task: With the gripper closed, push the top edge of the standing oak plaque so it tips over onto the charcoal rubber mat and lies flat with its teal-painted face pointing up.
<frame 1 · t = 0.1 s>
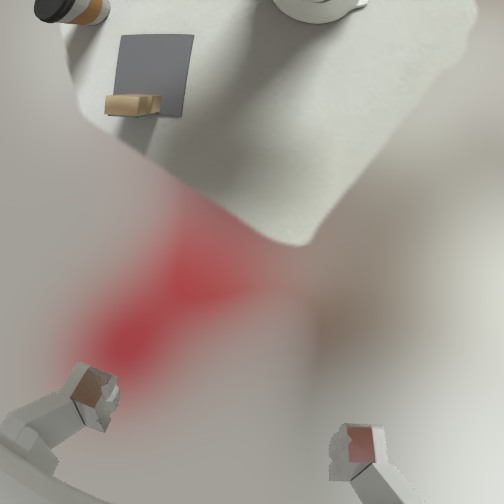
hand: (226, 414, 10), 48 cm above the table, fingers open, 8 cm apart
coffee cup: (98, 11, 41), on the table
plaque: (145, 102, 49), resting on mat
mat: (150, 73, 47), on the table
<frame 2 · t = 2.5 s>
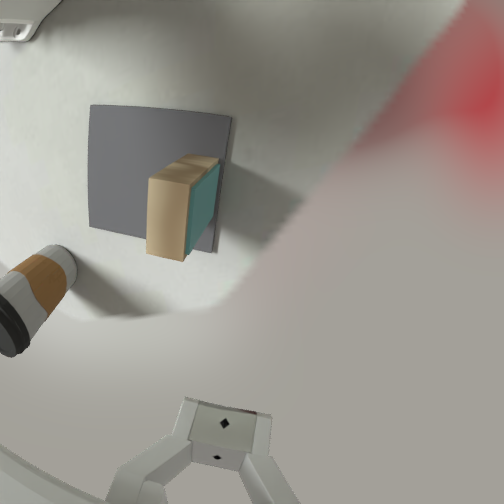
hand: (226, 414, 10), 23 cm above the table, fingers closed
coffee cup: (61, 263, 38), on the table
plaque: (199, 185, 30), resting on mat
mat: (149, 175, 30), on the table
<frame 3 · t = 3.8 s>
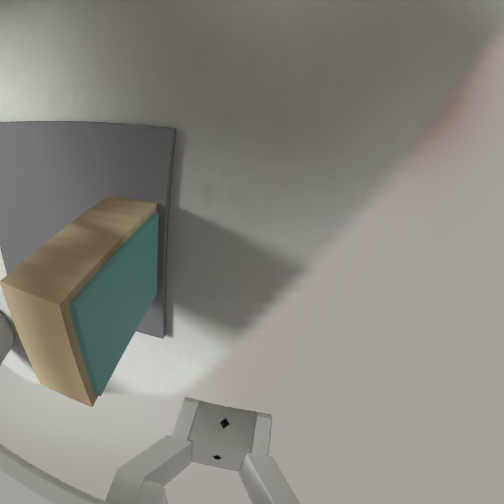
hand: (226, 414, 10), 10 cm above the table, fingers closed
plaque: (132, 246, 18), resting on mat
mat: (65, 226, 18), on the table
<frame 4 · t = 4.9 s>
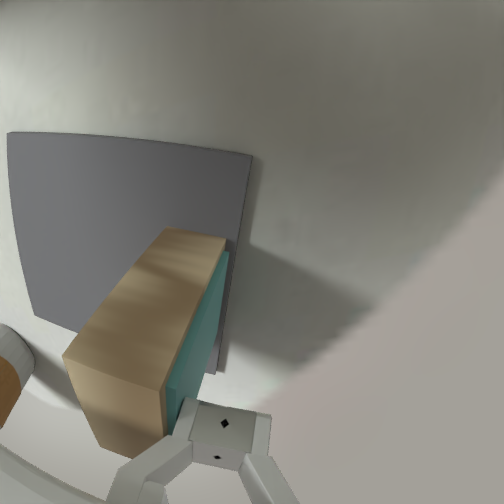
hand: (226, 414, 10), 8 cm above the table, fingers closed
coffee cup: (15, 344, 24), on the table
plaque: (191, 283, 17), point 1 cm above the table, touching gripper, mat
mat: (105, 256, 17), on the table
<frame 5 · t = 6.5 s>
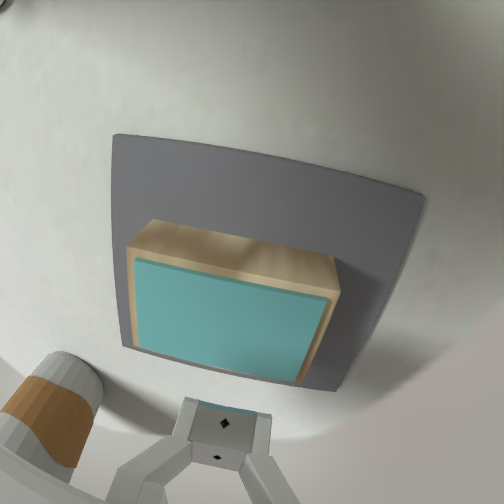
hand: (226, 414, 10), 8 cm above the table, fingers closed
coffee cup: (77, 372, 24), on the table
plaque: (318, 323, 15), point 2 cm above the table, tilted 90°, touching mat
mat: (244, 284, 17), on the table
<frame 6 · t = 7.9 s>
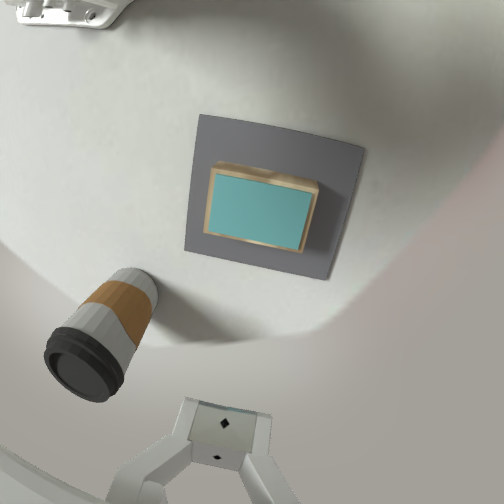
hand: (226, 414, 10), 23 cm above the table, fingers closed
coffee cup: (137, 287, 37), on the table
plaque: (309, 216, 28), point 2 cm above the table, tilted 90°, touching mat
mat: (267, 200, 30), on the table
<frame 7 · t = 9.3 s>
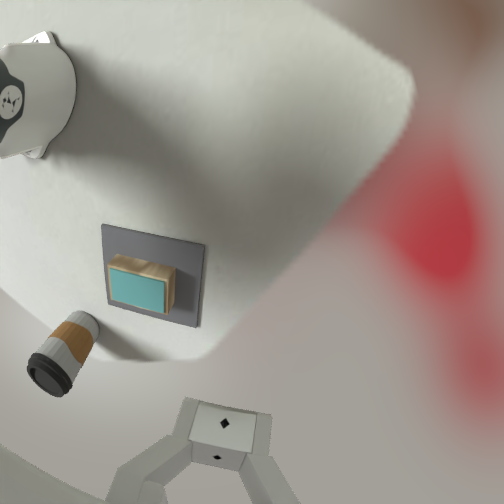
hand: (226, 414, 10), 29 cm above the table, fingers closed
coffee cup: (86, 322, 51), on the table
plaque: (171, 291, 42), point 2 cm above the table, tilted 90°, touching mat
mat: (150, 277, 44), on the table
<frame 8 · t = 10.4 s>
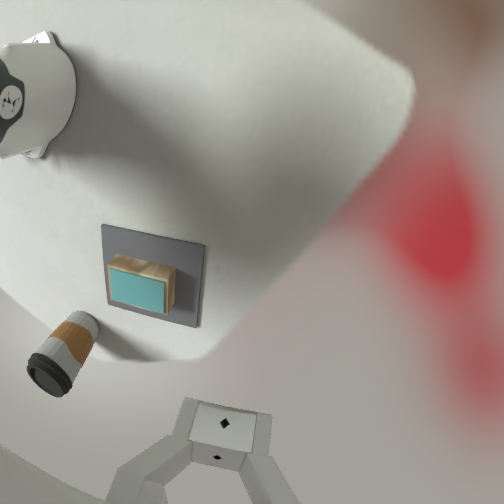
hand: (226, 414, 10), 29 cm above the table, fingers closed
coffee cup: (86, 322, 51), on the table
plaque: (171, 291, 42), point 2 cm above the table, tilted 90°, touching mat
mat: (150, 277, 44), on the table
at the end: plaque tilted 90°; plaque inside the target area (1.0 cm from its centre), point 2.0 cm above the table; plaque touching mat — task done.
